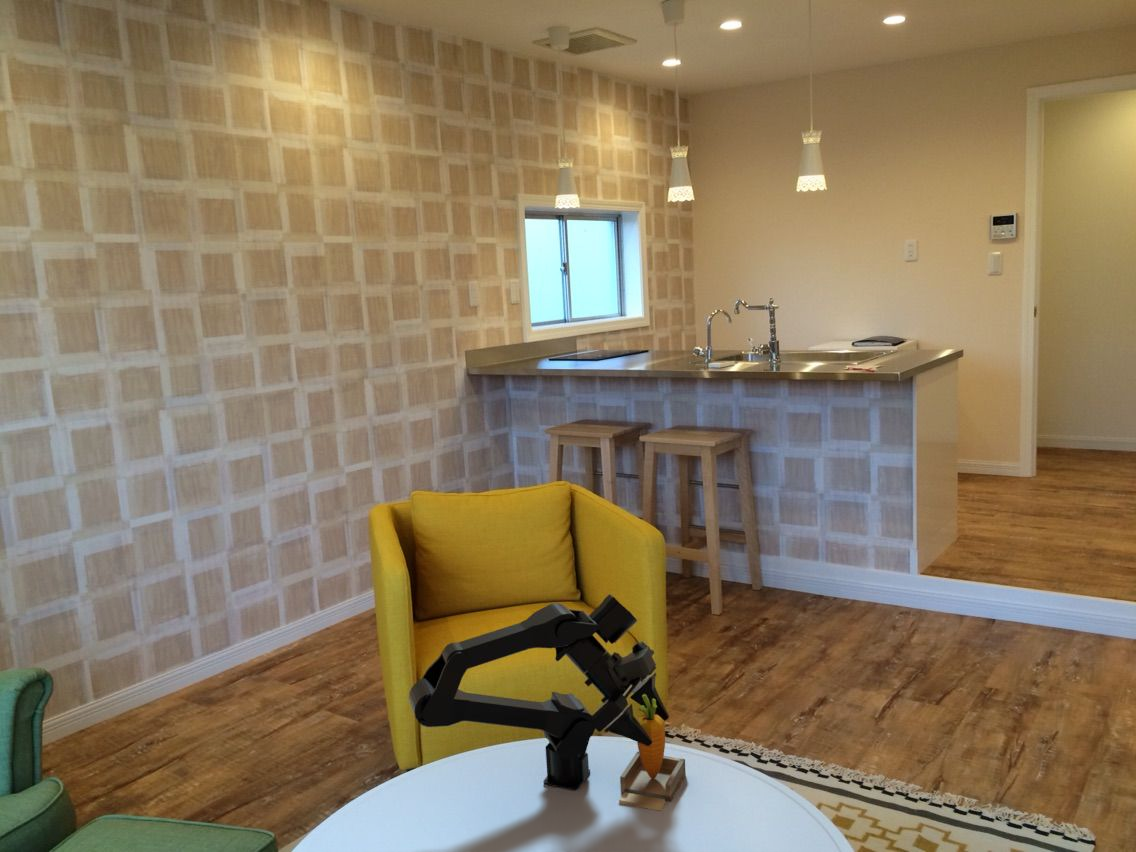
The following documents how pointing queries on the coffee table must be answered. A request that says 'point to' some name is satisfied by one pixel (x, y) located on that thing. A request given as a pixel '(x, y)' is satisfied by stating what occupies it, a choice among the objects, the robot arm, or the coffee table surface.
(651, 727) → the carrot
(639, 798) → the wooden tray
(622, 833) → the coffee table surface
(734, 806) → the coffee table surface
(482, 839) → the coffee table surface
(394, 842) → the coffee table surface
